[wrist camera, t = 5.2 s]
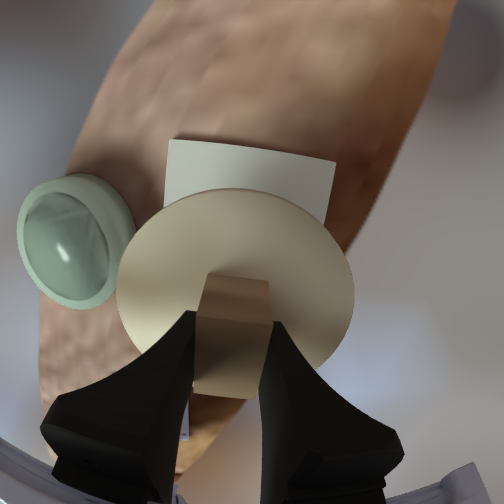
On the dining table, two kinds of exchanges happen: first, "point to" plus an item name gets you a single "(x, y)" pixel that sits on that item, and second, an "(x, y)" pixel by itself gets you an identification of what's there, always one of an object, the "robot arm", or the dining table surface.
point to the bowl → (74, 238)
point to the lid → (236, 284)
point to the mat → (248, 173)
